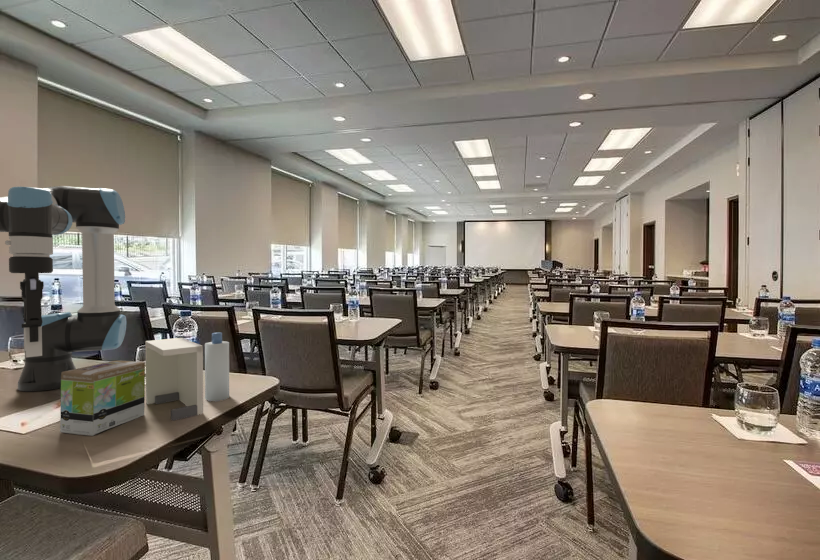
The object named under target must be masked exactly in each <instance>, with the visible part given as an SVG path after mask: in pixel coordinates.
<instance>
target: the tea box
mask: <svg viewBox="0 0 820 560" xmlns="http://www.w3.org/2000/svg"><path fill="white" fill-rule="evenodd" d="M145 402H146V361H145V362H143V361H131V360H116V359H115V360H112V361H105V362H103V363H99V364H98V363H97V364H92V365H88V366H84V367H80V368H76V369H74V370H69V371H64V372H62V373H61V388H60V409H59V410H60V420H59V421H60V422H59V423H60V425H59V432H60V433H63V434H70V435H81V436H91V437H93V436H96V435H97V434H100V433H102V432H105V431H106V430H109V429H112V428H114V427H117V426H121V425H122V424H126V423H128V422H131V421H133V420H136V419H138V418H141V417H143V416H145V407H146V406H145V404H146V403H145Z"/></svg>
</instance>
